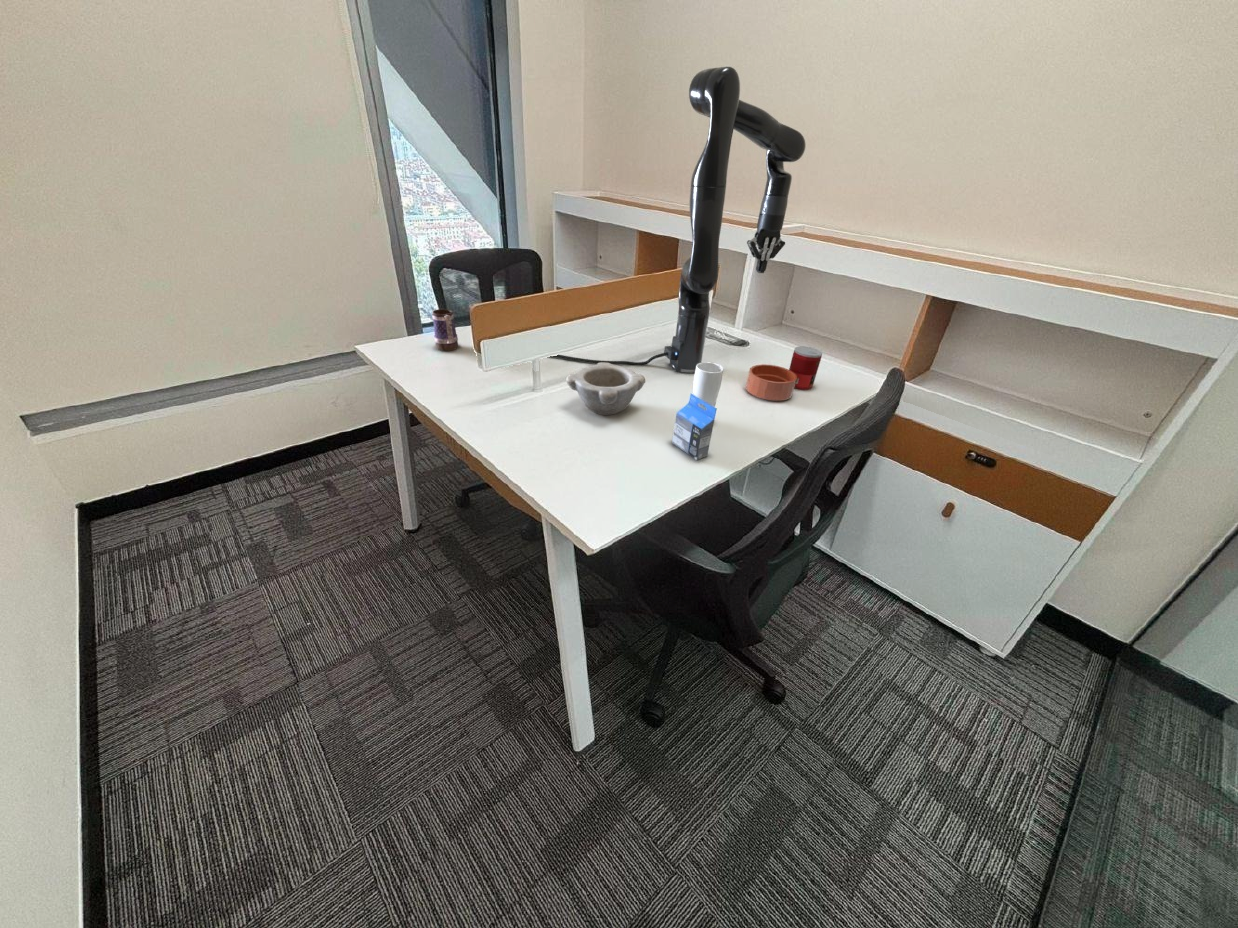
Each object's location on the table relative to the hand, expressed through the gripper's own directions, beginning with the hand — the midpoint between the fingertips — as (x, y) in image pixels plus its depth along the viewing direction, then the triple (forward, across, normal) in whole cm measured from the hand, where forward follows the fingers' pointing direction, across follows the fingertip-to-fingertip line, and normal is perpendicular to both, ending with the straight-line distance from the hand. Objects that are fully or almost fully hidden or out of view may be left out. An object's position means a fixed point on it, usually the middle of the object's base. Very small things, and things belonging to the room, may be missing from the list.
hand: (760, 272), depth 158 cm
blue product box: (+27, +47, +54) cm, 77 cm away
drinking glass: (+27, +38, +42) cm, 63 cm away
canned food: (+27, -3, +27) cm, 39 cm away
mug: (+27, +97, -21) cm, 103 cm away
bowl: (+27, +10, +30) cm, 41 cm away
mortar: (+27, +60, +29) cm, 72 cm away
